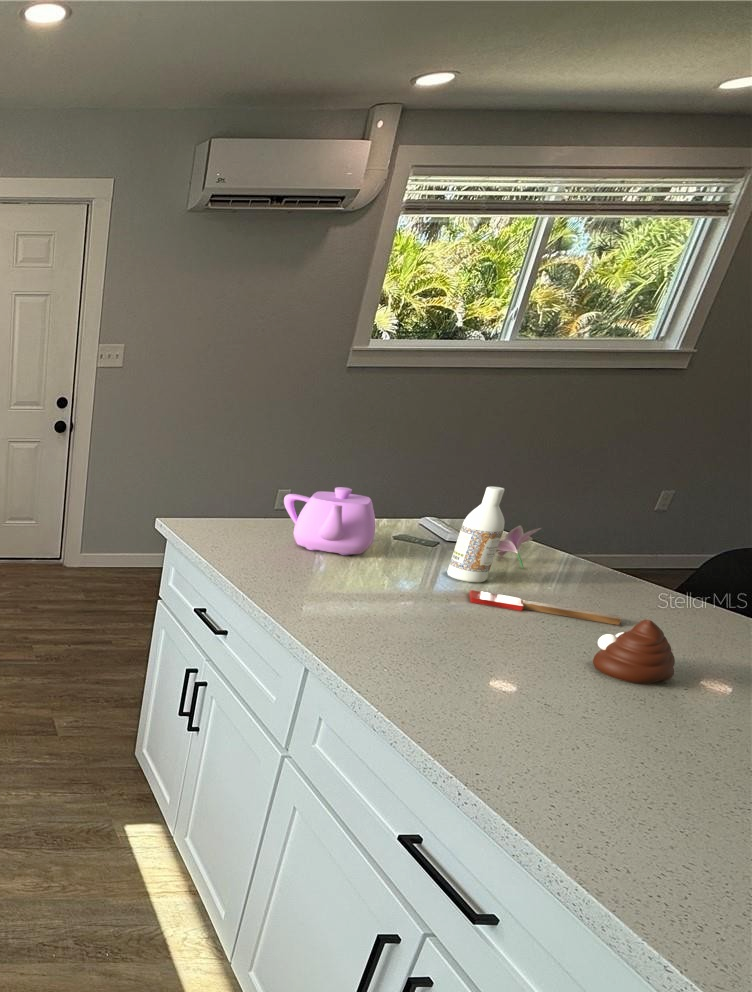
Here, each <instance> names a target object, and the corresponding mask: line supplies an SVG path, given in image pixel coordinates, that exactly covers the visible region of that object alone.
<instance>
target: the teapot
mask: <svg viewBox="0 0 752 992" xmlns="http://www.w3.org/2000/svg"><path fill="white" fill-rule="evenodd" d="M352 491H353V489H352V488H350V487H345V486H343V487H342V486H338V487H337V486H336V487H334V491H323V490H322V491H321V490H320V491H316V492H314V493H313V494H312V496H311V497H309V496H306V495H302V494H298V493H287V494H286V495H285V496H284V498H283V504H284V507H285V510H286V512H287V514H288V515H289V517H290V519H291V520H292V521H293V523H294V528H293V538H294V541H295V543H296V544H297V545H298V546H301V547H304V548H305V549H307V550H310V551H322V552H328V553H335V554H339V555H342V556H351V555H361V554H363V553H364V552H366V550H367V549H369V547H370V546H371V545H372V544H373V542H374V540H375V536H376V535H375V534H376V515H375V511H374V504H373V502H372V501H373V500H372V499H371V498H370V496H366V495H361V494H355V493H352ZM296 501H301V502H305V505H304V506H303V508H302V509H301V510H300V513H299V515H297V513H296V509H295V502H296Z"/></svg>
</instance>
